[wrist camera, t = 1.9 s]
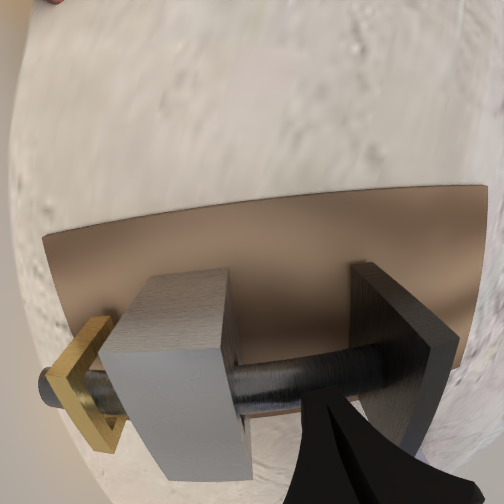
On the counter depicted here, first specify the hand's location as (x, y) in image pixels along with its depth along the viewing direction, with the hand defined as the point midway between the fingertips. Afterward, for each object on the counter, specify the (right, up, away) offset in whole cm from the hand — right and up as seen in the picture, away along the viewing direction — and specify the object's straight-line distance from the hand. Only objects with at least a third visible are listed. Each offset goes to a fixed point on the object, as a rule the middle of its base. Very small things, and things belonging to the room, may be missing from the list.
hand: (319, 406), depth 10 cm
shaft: (-5, +1, +5) cm, 7 cm away
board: (0, +2, +6) cm, 7 cm away
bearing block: (-5, +1, +6) cm, 8 cm away
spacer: (-10, 0, +5) cm, 11 cm away
